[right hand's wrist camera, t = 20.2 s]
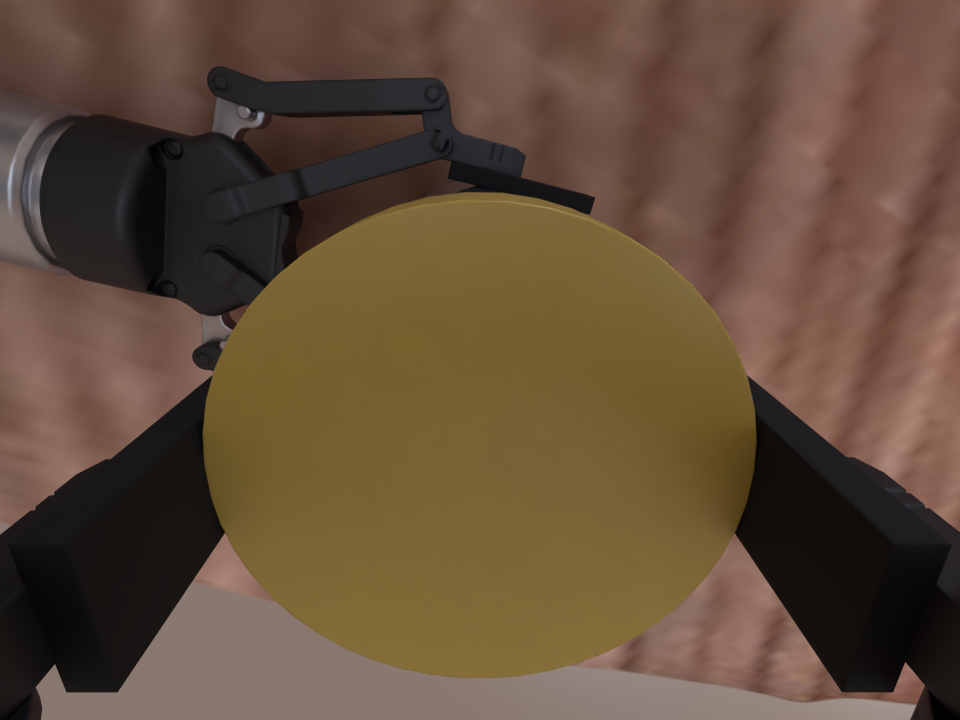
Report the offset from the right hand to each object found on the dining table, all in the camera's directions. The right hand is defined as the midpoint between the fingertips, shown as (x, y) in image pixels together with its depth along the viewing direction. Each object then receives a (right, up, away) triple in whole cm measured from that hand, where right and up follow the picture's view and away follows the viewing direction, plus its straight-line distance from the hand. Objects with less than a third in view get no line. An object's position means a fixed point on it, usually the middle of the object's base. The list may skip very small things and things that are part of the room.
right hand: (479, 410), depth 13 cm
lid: (0, -1, -3) cm, 3 cm away
